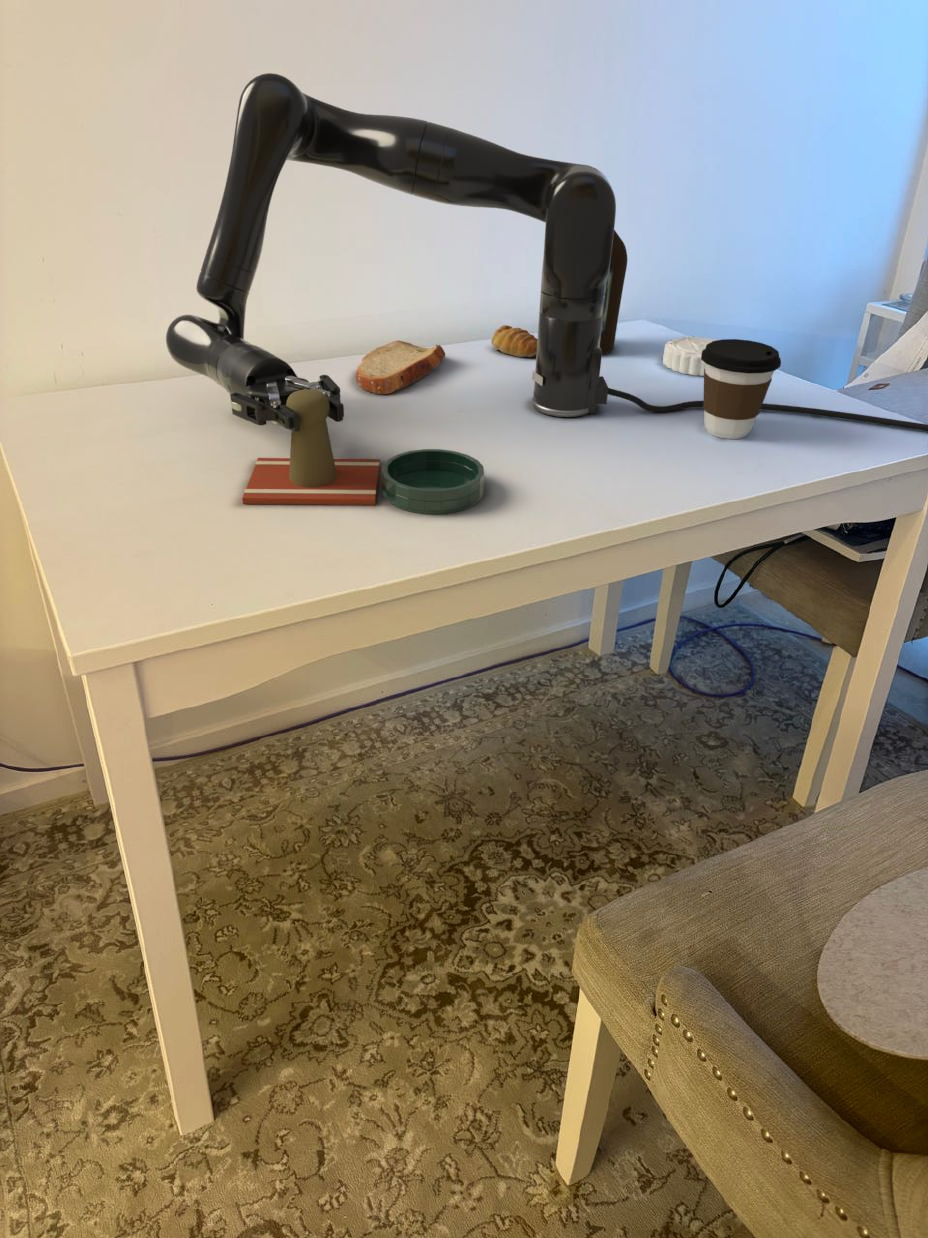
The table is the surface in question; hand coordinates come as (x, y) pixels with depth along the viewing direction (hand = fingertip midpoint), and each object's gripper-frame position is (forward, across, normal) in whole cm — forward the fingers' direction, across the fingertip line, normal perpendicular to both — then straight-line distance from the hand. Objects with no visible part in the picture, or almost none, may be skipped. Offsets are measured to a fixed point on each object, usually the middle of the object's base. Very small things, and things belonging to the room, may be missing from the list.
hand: (319, 418), depth 109 cm
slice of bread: (-32, +33, +10) cm, 47 cm away
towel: (-2, 0, +9) cm, 10 cm away
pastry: (-31, +57, +10) cm, 65 cm away
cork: (-3, 0, +9) cm, 9 cm away
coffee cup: (+15, +58, +10) cm, 61 cm away
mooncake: (-8, +78, +10) cm, 79 cm away
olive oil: (-25, +68, +10) cm, 74 cm away
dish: (+8, +11, +9) cm, 17 cm away
